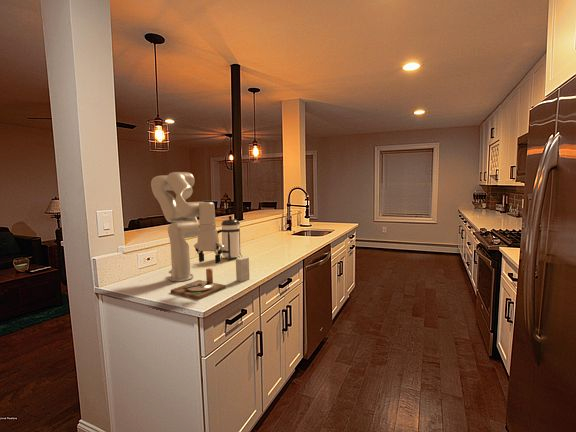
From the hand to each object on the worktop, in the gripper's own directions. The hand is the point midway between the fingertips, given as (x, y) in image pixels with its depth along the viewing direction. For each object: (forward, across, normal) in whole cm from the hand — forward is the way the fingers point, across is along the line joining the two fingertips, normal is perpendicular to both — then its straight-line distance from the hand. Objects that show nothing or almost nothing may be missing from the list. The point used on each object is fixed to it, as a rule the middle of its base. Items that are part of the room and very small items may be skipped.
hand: (209, 262), depth 154 cm
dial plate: (+13, -4, -4) cm, 15 cm away
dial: (+12, -4, -5) cm, 13 cm away
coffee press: (+12, -28, +60) cm, 67 cm away
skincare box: (+14, +7, +19) cm, 24 cm away
